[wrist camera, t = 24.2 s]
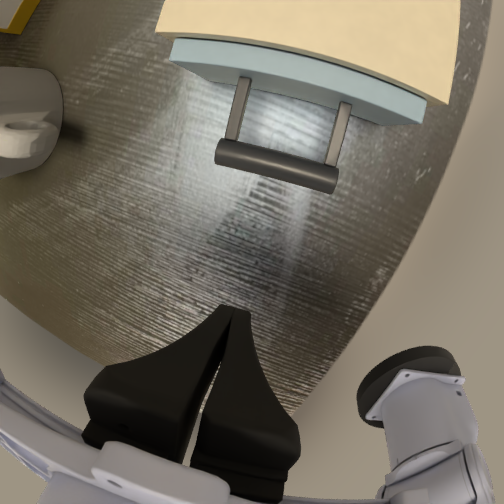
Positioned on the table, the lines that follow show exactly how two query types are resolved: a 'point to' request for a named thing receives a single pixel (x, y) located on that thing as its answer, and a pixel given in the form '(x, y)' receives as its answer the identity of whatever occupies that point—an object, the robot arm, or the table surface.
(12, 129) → the coffee mug
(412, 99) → the drawer
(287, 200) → the table surface
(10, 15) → the soap bottle
